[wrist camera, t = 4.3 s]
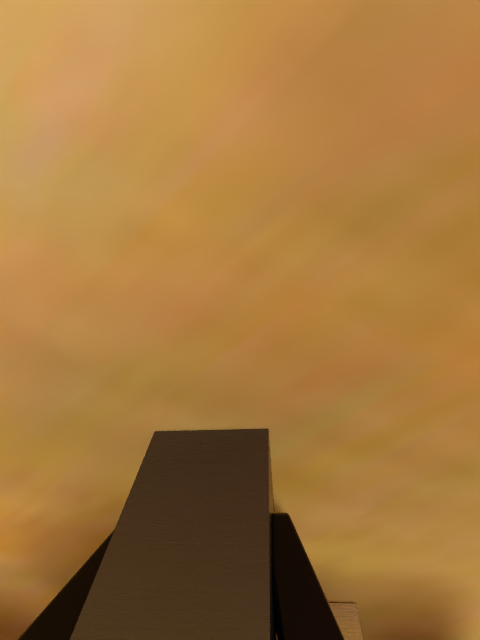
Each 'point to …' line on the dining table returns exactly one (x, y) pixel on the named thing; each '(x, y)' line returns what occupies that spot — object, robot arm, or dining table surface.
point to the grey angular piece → (194, 546)
